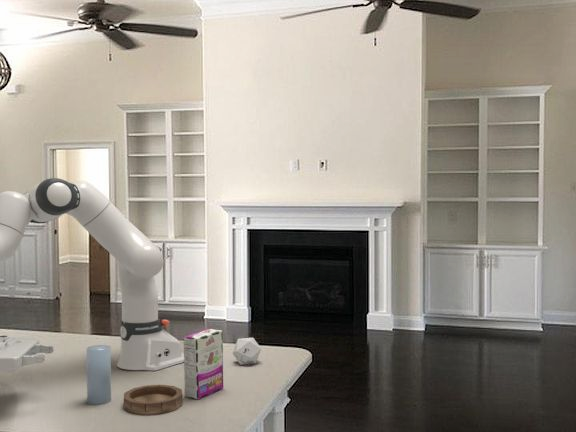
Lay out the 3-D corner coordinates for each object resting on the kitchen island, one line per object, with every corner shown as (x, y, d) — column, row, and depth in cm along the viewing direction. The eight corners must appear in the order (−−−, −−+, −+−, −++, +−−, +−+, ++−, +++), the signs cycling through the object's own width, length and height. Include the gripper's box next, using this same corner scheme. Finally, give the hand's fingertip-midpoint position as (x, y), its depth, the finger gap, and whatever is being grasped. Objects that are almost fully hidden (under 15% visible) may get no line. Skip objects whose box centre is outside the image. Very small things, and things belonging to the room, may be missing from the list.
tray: (163, 391, 173) (163, 381, 172) (193, 405, 162) (193, 394, 161) (113, 403, 163) (113, 393, 162) (142, 419, 152) (142, 407, 152)
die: (227, 365, 201) (232, 345, 195) (237, 346, 207) (242, 327, 202) (250, 375, 200) (256, 356, 194) (260, 356, 206) (266, 337, 200)
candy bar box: (209, 385, 178) (209, 328, 177) (223, 388, 175) (223, 330, 174) (183, 396, 168) (182, 335, 167) (197, 400, 165) (197, 338, 165)
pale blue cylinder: (104, 395, 169) (104, 343, 168) (115, 401, 165) (114, 347, 164) (83, 400, 165) (82, 347, 164) (93, 406, 161) (92, 351, 160)
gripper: (-23, 353, 150) (37, 352, 152) (4, 333, 171) (57, 333, 172) (-23, 379, 151) (37, 378, 152) (4, 356, 171) (57, 356, 173)
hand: (48, 354), depth 163 cm, fingers open, 8 cm apart
